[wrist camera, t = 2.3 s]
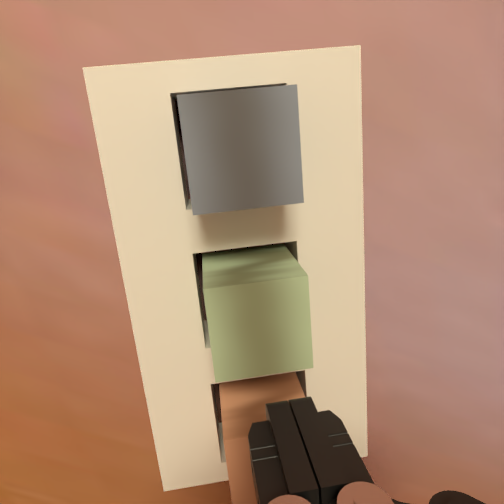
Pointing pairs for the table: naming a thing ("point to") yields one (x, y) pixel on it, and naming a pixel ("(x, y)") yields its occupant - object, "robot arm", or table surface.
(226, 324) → the sage block
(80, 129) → the table surface
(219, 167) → the slate block
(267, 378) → the terracotta block
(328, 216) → the board
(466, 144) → the table surface
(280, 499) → the robot arm
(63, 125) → the table surface
